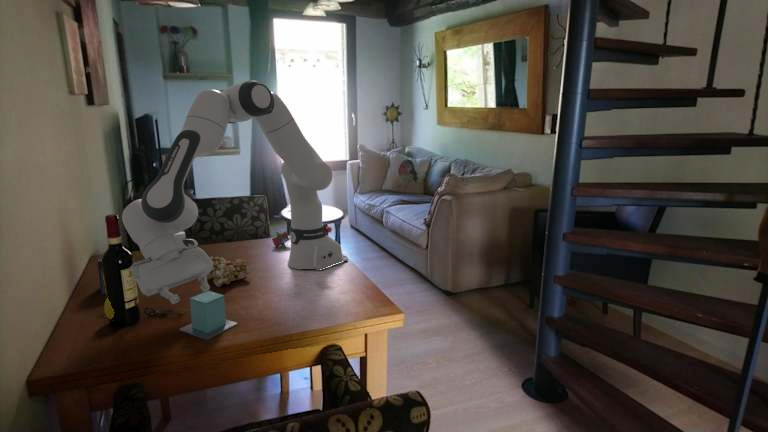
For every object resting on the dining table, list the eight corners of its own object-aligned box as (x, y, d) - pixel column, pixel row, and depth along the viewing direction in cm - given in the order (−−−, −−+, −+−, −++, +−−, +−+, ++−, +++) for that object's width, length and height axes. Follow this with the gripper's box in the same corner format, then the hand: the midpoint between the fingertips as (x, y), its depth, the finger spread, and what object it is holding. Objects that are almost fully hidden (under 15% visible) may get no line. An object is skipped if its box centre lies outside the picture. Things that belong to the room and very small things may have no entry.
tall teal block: (210, 319, 123) (208, 290, 122) (226, 324, 121) (224, 295, 119) (192, 327, 118) (189, 298, 117) (208, 333, 116) (205, 303, 114)
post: (211, 315, 126) (209, 294, 125) (237, 324, 122) (236, 302, 120) (179, 330, 118) (177, 307, 116) (206, 340, 113) (205, 316, 112)
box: (122, 292, 141) (118, 258, 139) (100, 294, 139) (96, 261, 136) (123, 283, 148) (120, 251, 146) (103, 286, 146) (99, 253, 143)
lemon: (112, 317, 124) (109, 289, 122) (133, 316, 125) (130, 288, 123) (101, 326, 119) (98, 297, 117) (124, 326, 119) (121, 297, 118)
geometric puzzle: (273, 246, 184) (283, 228, 186) (265, 242, 189) (275, 225, 191) (286, 254, 189) (296, 237, 190) (278, 249, 194) (288, 233, 196)
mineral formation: (219, 290, 144) (192, 277, 152) (254, 285, 154) (227, 273, 163) (222, 265, 143) (195, 253, 151) (257, 262, 153) (230, 250, 162)
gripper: (131, 257, 113) (161, 303, 110) (200, 238, 130) (227, 277, 128) (122, 271, 116) (151, 316, 113) (190, 251, 133) (217, 289, 131)
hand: (192, 295), depth 121 cm, fingers open, 8 cm apart
